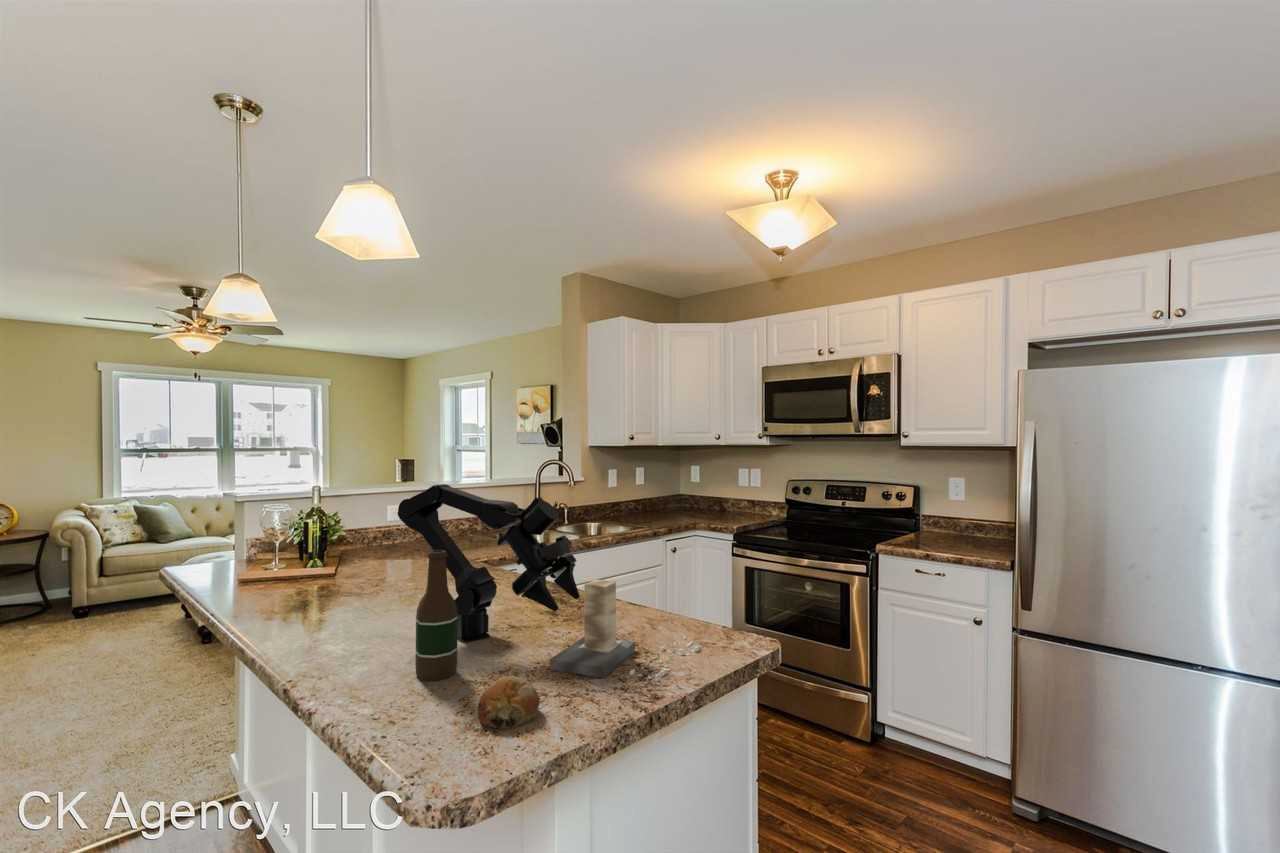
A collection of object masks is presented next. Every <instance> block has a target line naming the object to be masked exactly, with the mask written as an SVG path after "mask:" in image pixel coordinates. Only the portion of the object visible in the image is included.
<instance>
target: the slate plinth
mask: <svg viewBox="0 0 1280 853" xmlns="http://www.w3.org/2000/svg"><path fill="white" fill-rule="evenodd" d="M635 652H636V641H632V640H625V639H617V638H616V642H615V643H614V644H613V645H611V646H610V647H608V648H607V649H599V648H592V647H585V646H584V636H583V637H582V638H580V639H578V640H577V641H575V642H574V643H572V644H571V645H569V646H568V647H566V648H564V649H563V650H562V651H560V652H559V653H557V654H556V655H554V656H552V657H551V658H550V659H549V670H552V671H559V672H564V673H569V674H570V673H572V674H576V675H577V674H578V675H582V676H583V675H584V676H589V677H590V676H591V677H597V678H602V679H604V678H606V677H607V676H608V675H610V673H612V672H613V671H614V670H615V669H616V668H618V667H619V666H620V665H621V664H622V663H623V662H624V661H626V660H627V659H628V658H629V657H630V656H632V655H633V654H634V653H635Z"/></svg>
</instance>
